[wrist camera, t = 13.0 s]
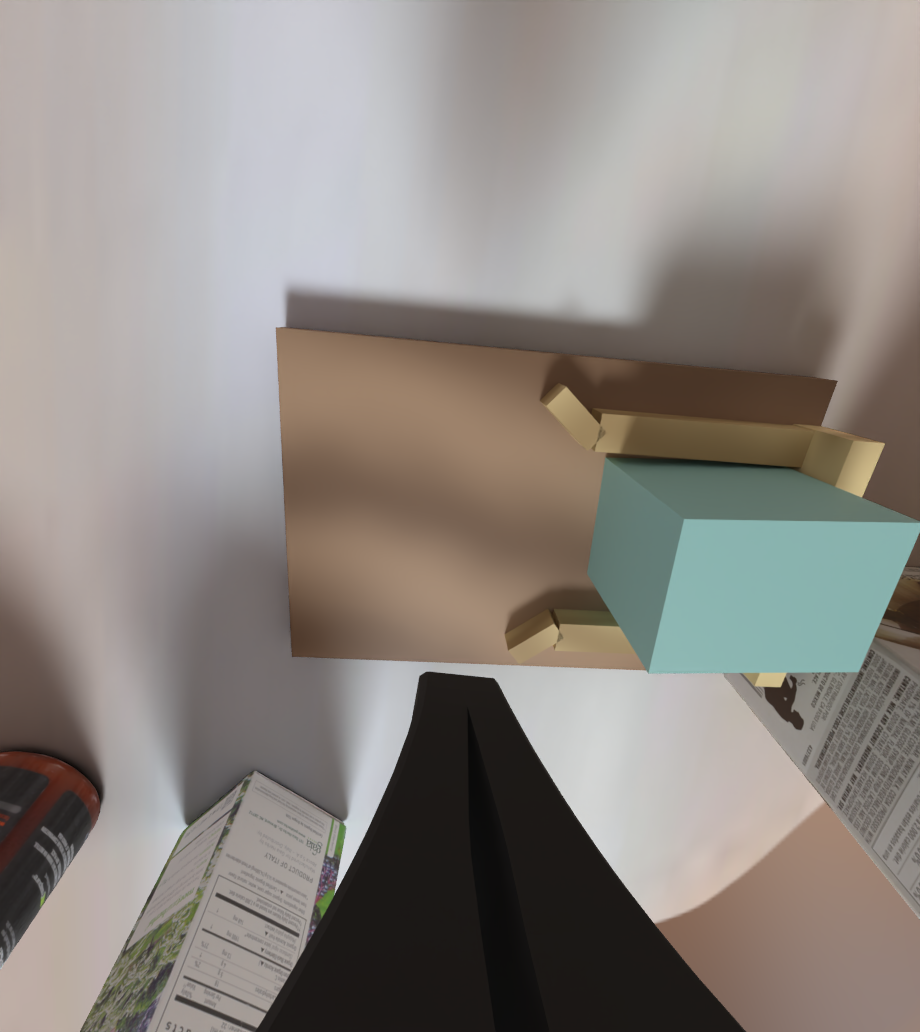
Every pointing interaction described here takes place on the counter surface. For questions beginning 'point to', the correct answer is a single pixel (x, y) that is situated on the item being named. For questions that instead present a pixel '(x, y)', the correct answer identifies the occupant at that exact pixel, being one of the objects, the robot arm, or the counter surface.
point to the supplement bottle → (37, 834)
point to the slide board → (498, 487)
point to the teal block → (743, 566)
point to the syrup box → (225, 916)
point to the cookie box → (861, 738)
